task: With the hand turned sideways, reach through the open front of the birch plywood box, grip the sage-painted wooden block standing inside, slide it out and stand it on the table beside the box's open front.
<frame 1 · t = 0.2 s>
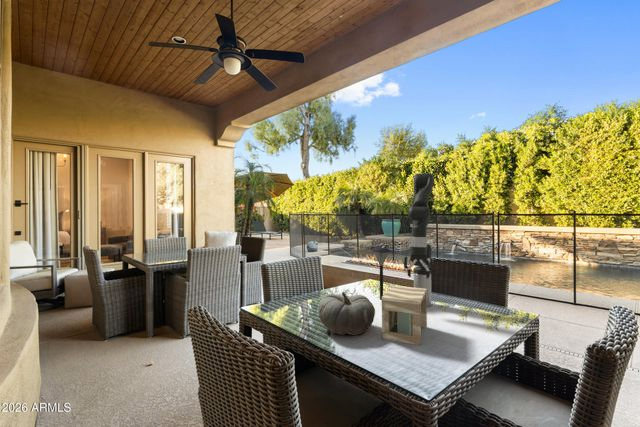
hand: (418, 277, 162), 18 cm above the table, fingers open, 8 cm apart
block: (404, 332, 137), resting in box
box: (406, 332, 136), on the table
gourd: (347, 329, 141), on the table
solar garden light: (381, 299, 185), on the table
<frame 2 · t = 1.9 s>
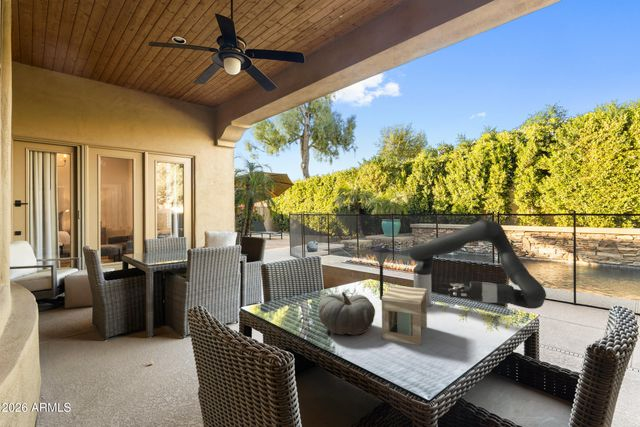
hand: (439, 288, 131), 20 cm above the table, fingers open, 8 cm apart
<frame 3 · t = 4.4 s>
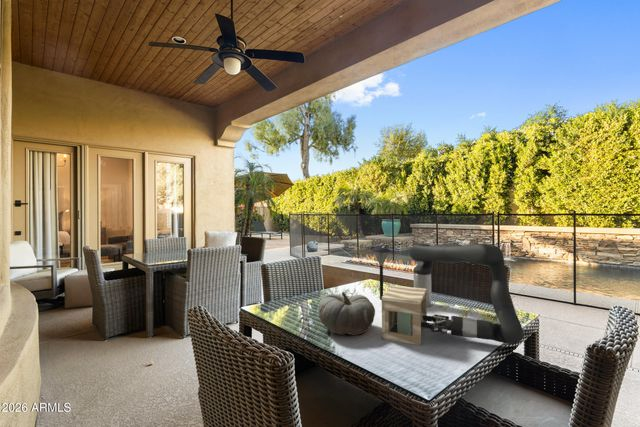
hand: (421, 321, 134), 6 cm above the table, fingers open, 8 cm apart
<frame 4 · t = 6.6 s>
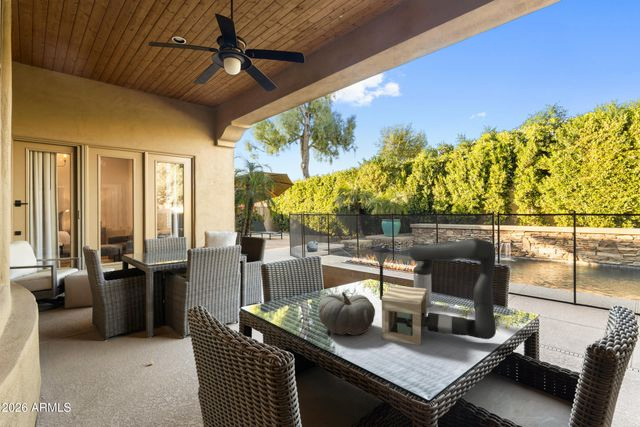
hand: (398, 317, 137), 6 cm above the table, fingers closed on block, 5 cm apart
block: (404, 332, 137), resting in box, touching gripper
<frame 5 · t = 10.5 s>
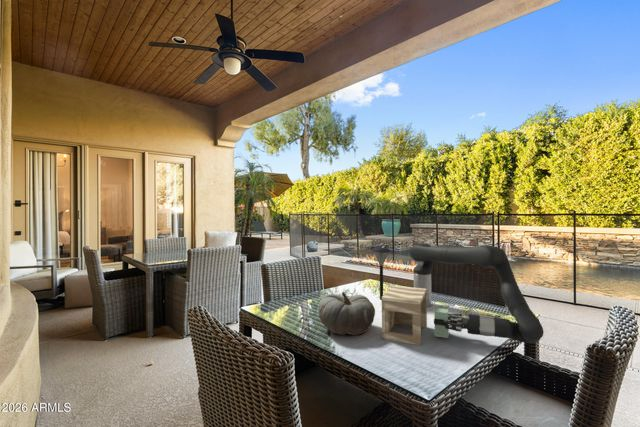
hand: (434, 319, 131), 7 cm above the table, fingers closed on block, 5 cm apart
block: (441, 334, 130), point 1 cm above the table, touching gripper
when the fingers open (7 cm above the table, at t = 14.3 s): block stays where it is, on the table.
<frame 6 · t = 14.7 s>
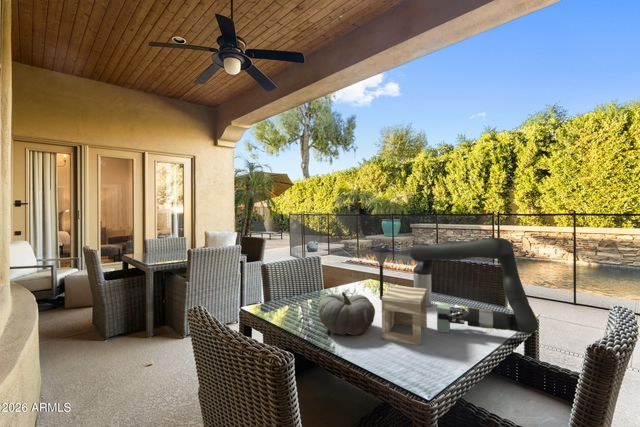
hand: (438, 313, 140), 7 cm above the table, fingers open, 8 cm apart
block: (443, 329, 139), on the table
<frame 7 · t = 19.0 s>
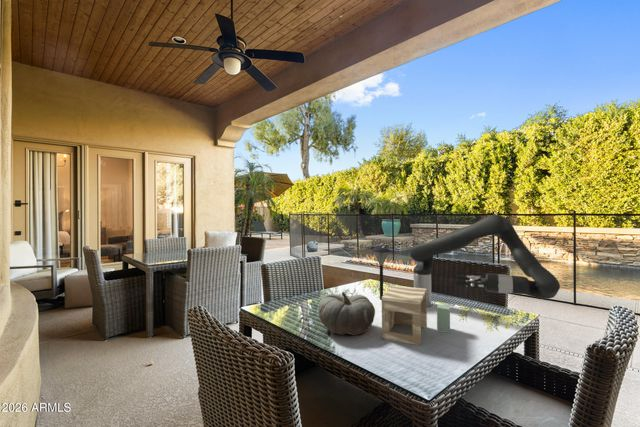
hand: (456, 280, 138), 22 cm above the table, fingers open, 8 cm apart
at the end: block inside the target area (0.2 cm from its centre), on the table; block tilted 0°; the gripper is holding nothing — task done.
